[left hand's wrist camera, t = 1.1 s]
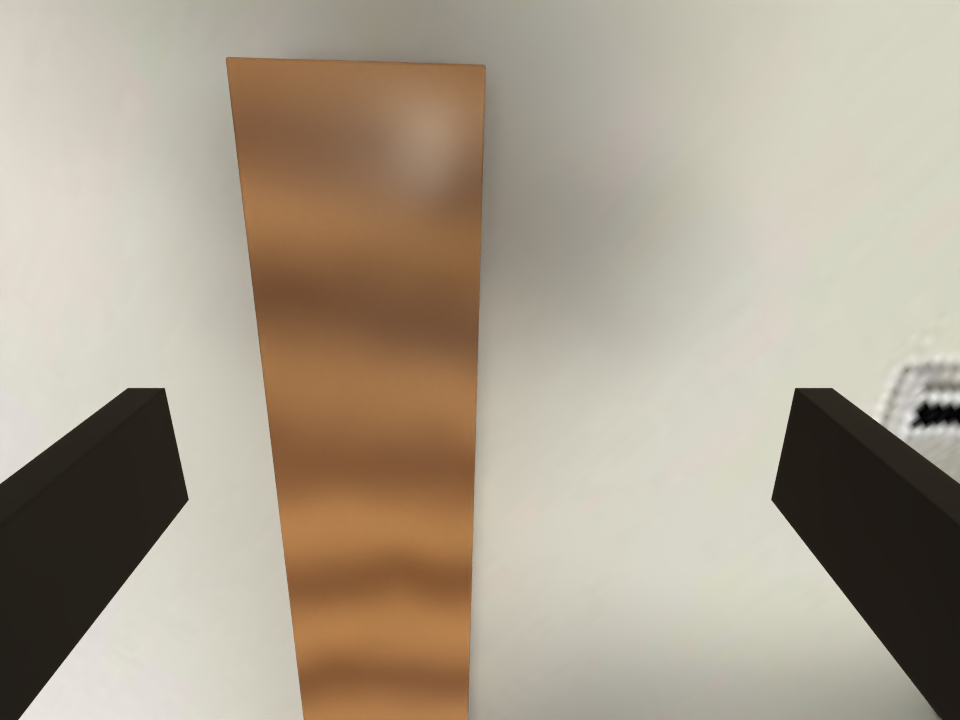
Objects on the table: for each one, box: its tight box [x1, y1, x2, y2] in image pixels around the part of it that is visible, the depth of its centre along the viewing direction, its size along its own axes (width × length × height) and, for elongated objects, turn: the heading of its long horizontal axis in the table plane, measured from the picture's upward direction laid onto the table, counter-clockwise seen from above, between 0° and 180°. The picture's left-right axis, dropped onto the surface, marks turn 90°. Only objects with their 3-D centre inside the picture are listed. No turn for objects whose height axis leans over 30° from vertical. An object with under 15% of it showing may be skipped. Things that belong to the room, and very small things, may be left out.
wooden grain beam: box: [226, 57, 486, 720], centre depth 33 cm, size 55×8×7 cm, turn 178°
